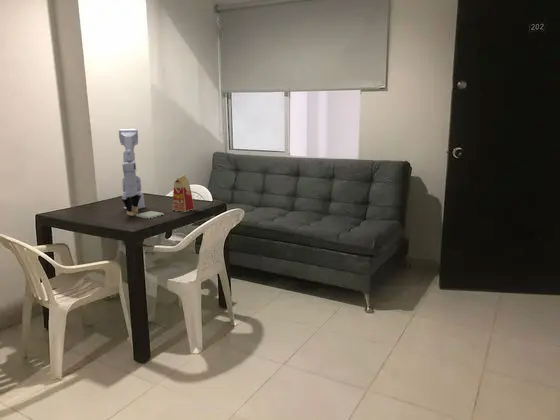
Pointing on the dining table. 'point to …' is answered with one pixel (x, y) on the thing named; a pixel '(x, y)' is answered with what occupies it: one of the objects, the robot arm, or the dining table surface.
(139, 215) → the coaster
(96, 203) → the dining table surface
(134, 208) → the maple block
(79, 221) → the dining table surface
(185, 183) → the milk carton
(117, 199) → the dining table surface
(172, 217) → the dining table surface
